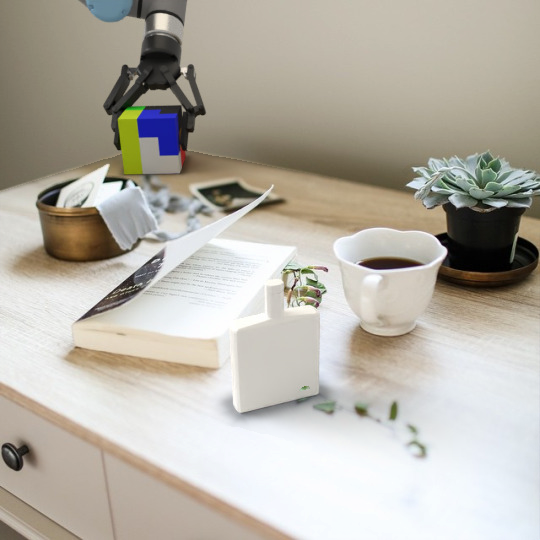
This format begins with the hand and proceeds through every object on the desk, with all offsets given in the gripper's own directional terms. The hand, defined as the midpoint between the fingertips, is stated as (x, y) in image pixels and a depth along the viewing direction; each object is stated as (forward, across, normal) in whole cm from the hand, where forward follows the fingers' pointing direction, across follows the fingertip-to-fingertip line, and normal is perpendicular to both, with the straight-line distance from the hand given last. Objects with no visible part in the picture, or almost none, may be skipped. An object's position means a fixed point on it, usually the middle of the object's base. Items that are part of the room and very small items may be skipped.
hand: (150, 147), depth 121 cm
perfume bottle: (+50, -28, +44) cm, 72 cm away
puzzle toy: (+1, 0, -5) cm, 5 cm away
